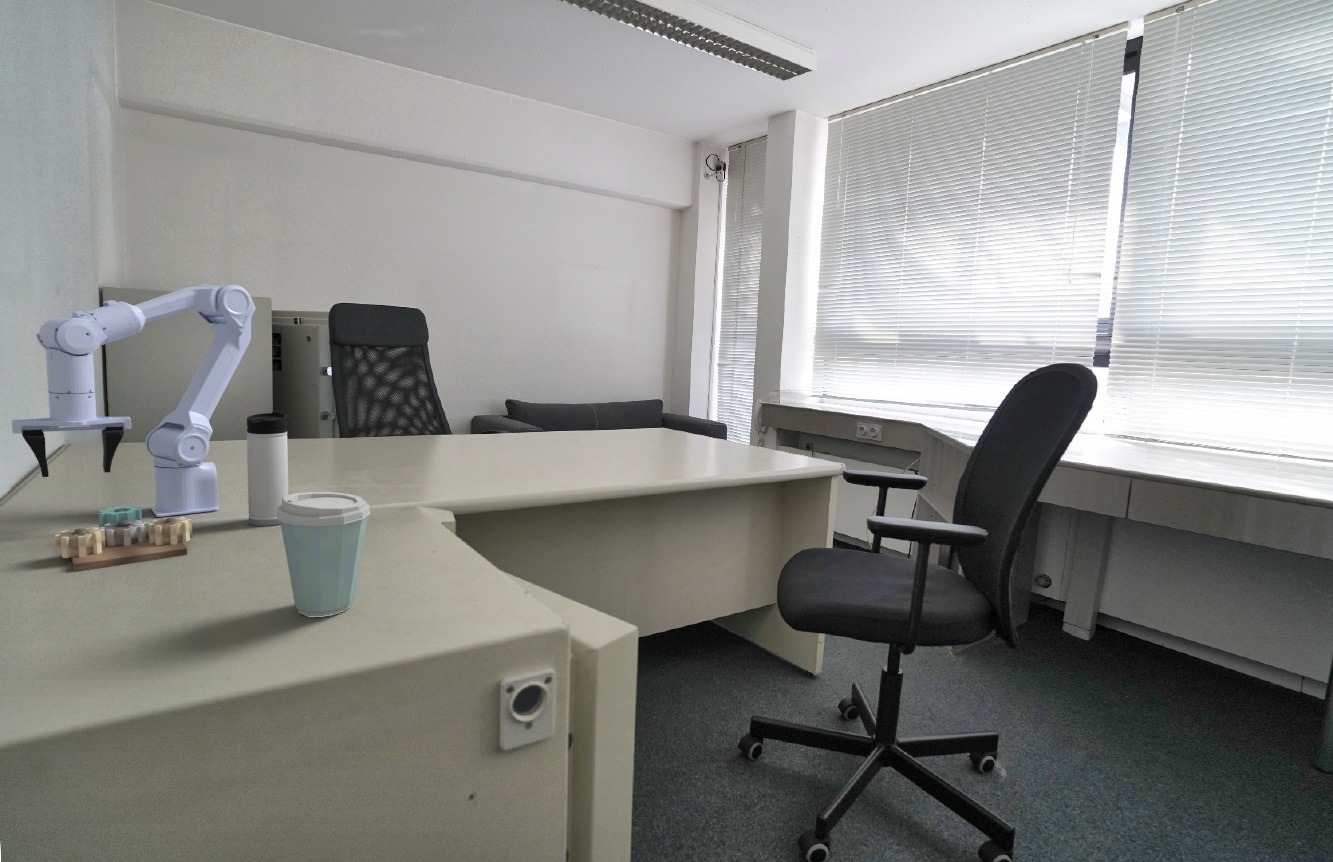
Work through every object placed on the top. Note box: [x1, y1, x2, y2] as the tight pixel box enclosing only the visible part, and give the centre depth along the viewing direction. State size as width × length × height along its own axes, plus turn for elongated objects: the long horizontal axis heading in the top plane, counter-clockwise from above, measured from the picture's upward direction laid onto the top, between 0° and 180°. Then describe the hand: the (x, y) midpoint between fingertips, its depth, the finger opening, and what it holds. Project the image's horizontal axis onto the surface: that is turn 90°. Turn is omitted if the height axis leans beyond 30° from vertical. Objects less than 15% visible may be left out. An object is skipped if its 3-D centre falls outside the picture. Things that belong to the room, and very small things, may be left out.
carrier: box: [54, 509, 193, 572], centre depth 104 cm, size 16×18×4 cm
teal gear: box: [98, 505, 143, 529], centre depth 108 cm, size 5×5×4 cm
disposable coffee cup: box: [276, 491, 371, 617], centre depth 85 cm, size 11×11×15 cm
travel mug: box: [246, 411, 289, 527], centre depth 120 cm, size 6×7×20 cm
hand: (76, 473), depth 110 cm, fingers open, 7 cm apart
